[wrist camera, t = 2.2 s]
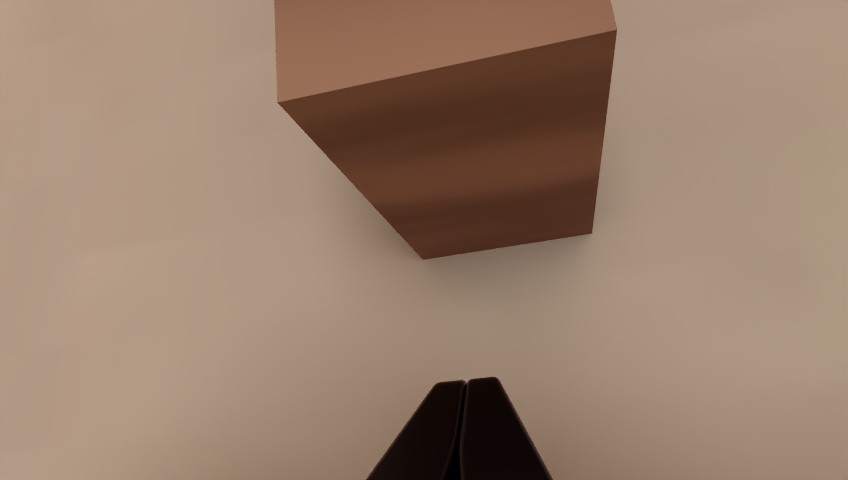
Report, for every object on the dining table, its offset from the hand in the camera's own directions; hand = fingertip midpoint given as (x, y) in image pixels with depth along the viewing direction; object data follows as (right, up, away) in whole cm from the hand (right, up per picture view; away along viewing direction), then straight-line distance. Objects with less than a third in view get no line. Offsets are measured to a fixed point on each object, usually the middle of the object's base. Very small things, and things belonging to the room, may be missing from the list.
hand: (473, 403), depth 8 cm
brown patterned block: (+1, +11, +13) cm, 16 cm away
